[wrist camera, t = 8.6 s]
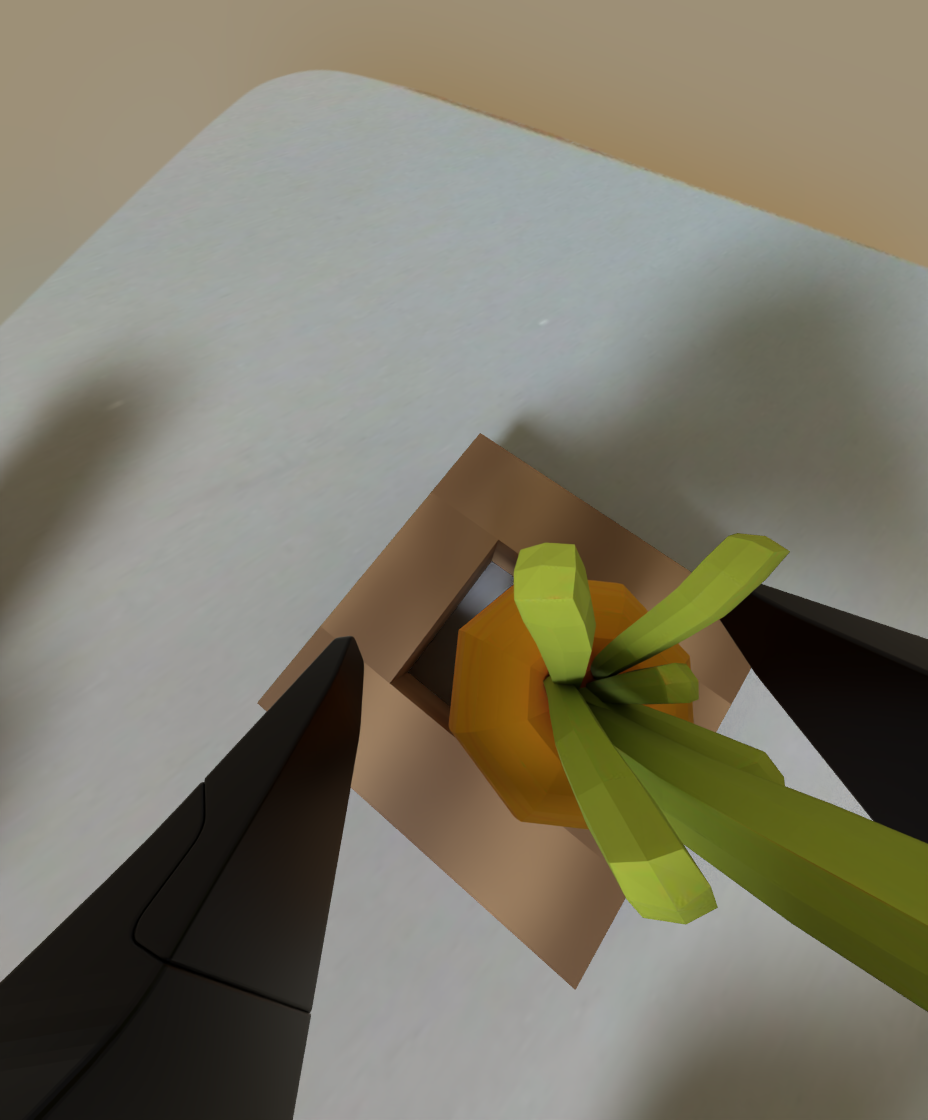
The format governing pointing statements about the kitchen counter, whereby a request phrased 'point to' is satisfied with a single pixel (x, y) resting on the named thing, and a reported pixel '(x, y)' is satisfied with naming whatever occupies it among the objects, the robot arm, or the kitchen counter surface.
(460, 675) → the carrot
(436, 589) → the walnut socket block
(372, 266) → the kitchen counter surface
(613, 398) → the kitchen counter surface
